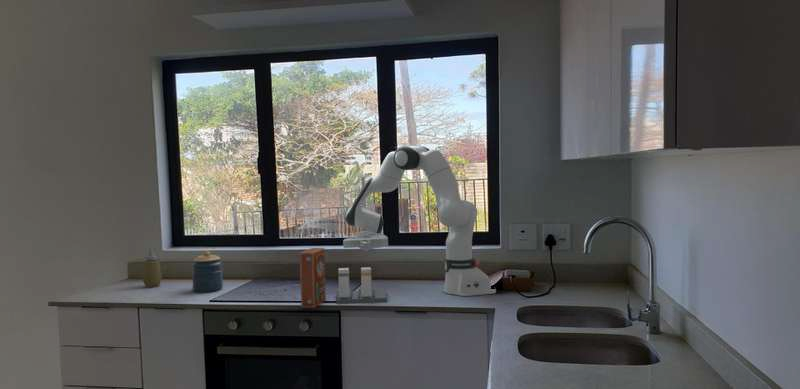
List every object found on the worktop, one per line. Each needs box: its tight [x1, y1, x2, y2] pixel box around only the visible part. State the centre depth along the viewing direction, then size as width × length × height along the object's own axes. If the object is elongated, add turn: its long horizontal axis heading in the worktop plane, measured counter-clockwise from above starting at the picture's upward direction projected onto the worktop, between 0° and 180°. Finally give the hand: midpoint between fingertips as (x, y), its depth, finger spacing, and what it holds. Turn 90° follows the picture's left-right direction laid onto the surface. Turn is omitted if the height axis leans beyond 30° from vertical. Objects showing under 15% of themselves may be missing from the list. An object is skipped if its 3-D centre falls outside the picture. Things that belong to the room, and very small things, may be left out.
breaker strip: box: [335, 267, 388, 305], centre depth 199 cm, size 20×14×13 cm
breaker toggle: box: [360, 266, 372, 297], centre depth 196 cm, size 4×4×11 cm
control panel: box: [299, 247, 327, 309], centre depth 192 cm, size 21×7×15 cm
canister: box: [191, 250, 224, 293], centre depth 221 cm, size 13×13×18 cm
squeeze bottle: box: [142, 248, 163, 288], centre depth 230 cm, size 8×8×18 cm
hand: (365, 244), depth 213 cm, fingers closed
